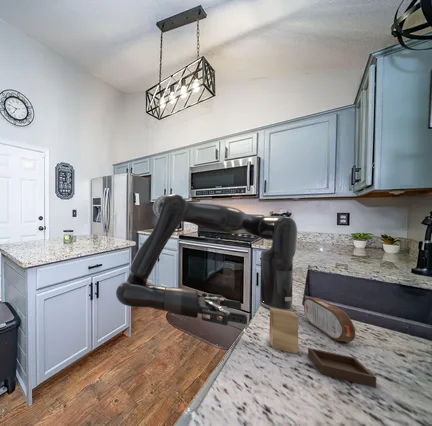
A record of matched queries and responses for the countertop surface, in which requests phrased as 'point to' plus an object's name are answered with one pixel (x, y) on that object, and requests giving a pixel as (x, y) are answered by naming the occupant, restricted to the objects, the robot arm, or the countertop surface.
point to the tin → (329, 319)
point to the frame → (341, 367)
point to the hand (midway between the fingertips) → (243, 312)
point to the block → (283, 330)
